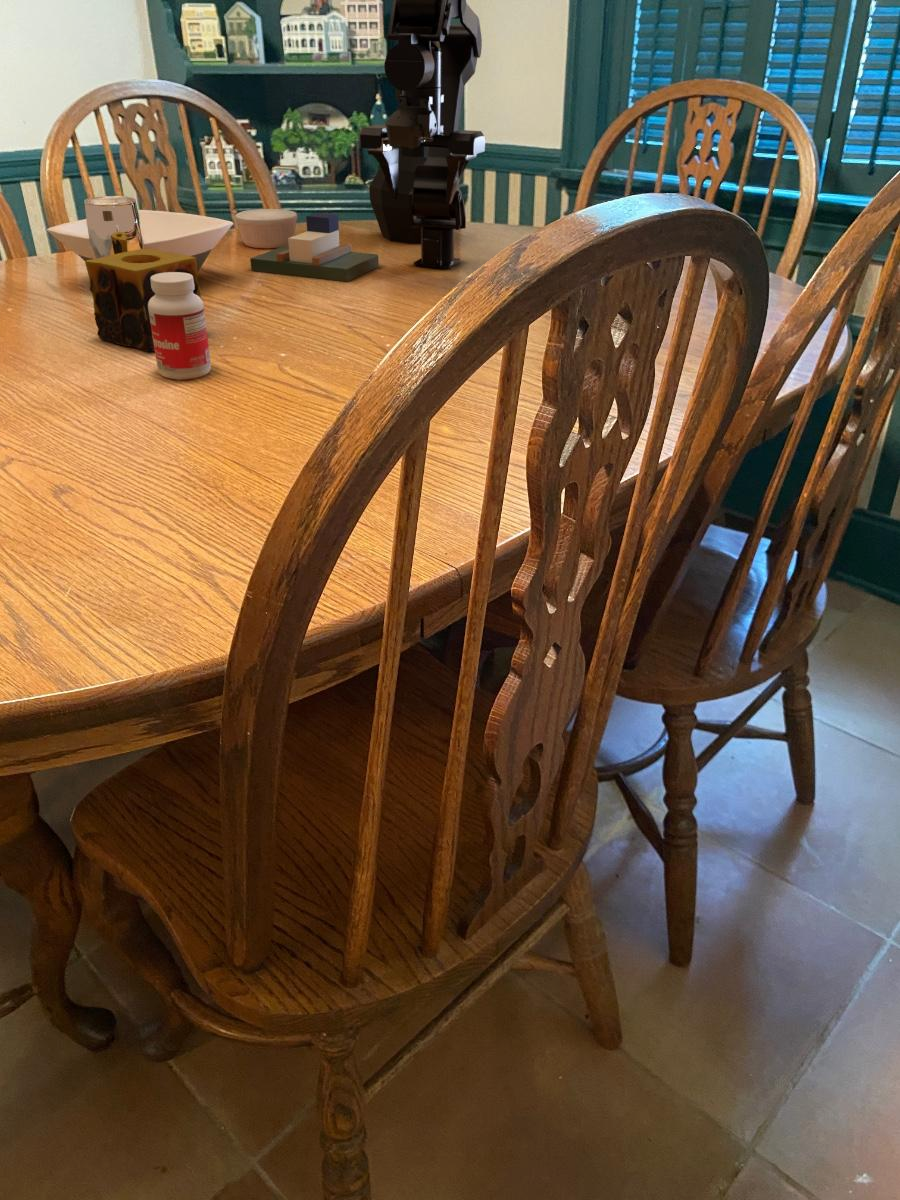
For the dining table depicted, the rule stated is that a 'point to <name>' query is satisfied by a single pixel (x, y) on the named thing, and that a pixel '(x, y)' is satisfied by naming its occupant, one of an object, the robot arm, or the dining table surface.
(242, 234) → the ramekin
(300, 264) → the green board with rails
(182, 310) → the pill bottle
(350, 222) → the dining table surface
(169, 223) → the bowl
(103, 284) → the candle
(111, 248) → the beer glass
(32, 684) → the dining table surface
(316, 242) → the cream and navy block
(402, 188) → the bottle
